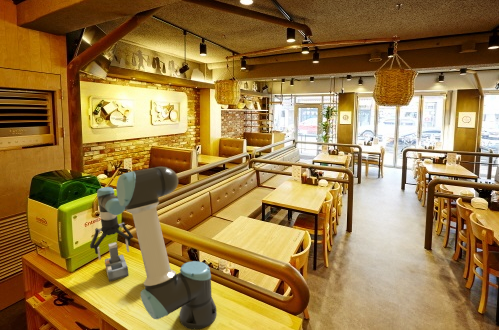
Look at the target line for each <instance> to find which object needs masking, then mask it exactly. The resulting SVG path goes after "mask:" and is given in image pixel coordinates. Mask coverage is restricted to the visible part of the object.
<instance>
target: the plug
mask: <svg viewBox="0 0 499 330" xmlns="http://www.w3.org/2000/svg"><path fill="white" fill-rule="evenodd" d="M108 250H109V258H111V264H112V263H115V262H119V250H118V244H117V242H116V241H115V242H111V243H108Z"/></svg>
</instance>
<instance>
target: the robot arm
mask: <svg viewBox="0 0 499 330" xmlns="http://www.w3.org/2000/svg"><path fill="white" fill-rule="evenodd" d="M178 185H179V177H178V175H177V173H176V172H175V171H174V170H173V169H171V168H169V167H167V166H156V167H151V168H143V169H139V170H132V171H129V172H125V173H122V174H120V175H119V176H118V179H117V183H116V195H115V190H114V188H113V187H111V186H107V187H105V186H104V187H101V188H99V189H97V191H96V192H97V193H96V195H97V196H96V197H97V202H98V208H99V215H100V224H101V228H98V227H96V228H95V229H94V230H95V231H94V235H93V238H92V240H91V242H90V244H89V247H90V249H91V250H92V249H94V254H95V255H97V257H98V261H100V260H102V259H101V258H102V257H101V252H100V245H101V244H102V242H103V240H104V239H105V238H106V237H107V236H111V235H115V234H118V235H120V237H121V238H124V239H125V246H126V247H125V248H126V251H127V253H129V252H130V247H129V246H130V245H131V239H133V238H134V236H133V234H132V232H131V231H130V230H129V229H128V227H126V224H125V222H121V223H119V221H118V220H119V219H118V216H119V215H121V214H123V213H124V212H125V210H126V211H127V213H130V214H131V215H132V219H133V223H134V227H135V228H134V229H135V231H136V236H137V240H138V245H139V250H140V253H141V258H142V261H143V267H144V269H145V274H146V278H145V280H144V282H143V286H144V289H142V290H140V299H141V302H142V304H143V306H144V309H145V310H146V312H147V313H148V315H149V316H150V317H151V318H152V319H153V320H160V319H163V318H164V317H167V316H169V315H170V314H172V313H174V312H175V311H177V310H178V309H180V310H179V322H180V324H181V325H182V327H184V328H186V329H188V330H202V329H205V328H207V327H208V326H210V325H212V324H213V323H214V321H215V320H216V318H217V311H218V310H217V306H216V303H215V301H214V299H213V295H212V274H211V268H210V266H209V265H208V264H207V263H205V262H202V261H199V260H197V261H196V260H193V261H187V262H184V263H183V264H182V265H181V267H180V268H179V271H180V272H178V273H177V272H176V271H175V270H173V269H171V265H170V262H169V256H168V253H167V248H166V245H165V240H164V236H163V232H162V227H161V223H160V218H159V214H158V211H157V210H158V209H157V208H158V207H157V206H158V205H159V204H160V200H159V198H161V197H163V196H167V195H170V194H172V193H173V192H175V190H176V189H177V187H178ZM120 228H121V229H123V230H124V232H123V231H122V230H120ZM101 232H102V233H101ZM125 232H126V233H125ZM100 233H101V235H100V237H98V236H99V234H100Z"/></svg>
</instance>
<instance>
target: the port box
mask: <svg viewBox="0 0 499 330" xmlns="http://www.w3.org/2000/svg"><path fill="white" fill-rule="evenodd" d="M118 256H119V262H115V263H112V264H111V258H110V257H108V258H105V259H104V265H105V270H106V274H107V278H108V281H109V283H111V282H113V281H116V280H119V279H122V278H126V277H129V275H130V274H129V269H128V268H129V267H128V264H127V262H126V259H125V256H124V254H120V255H119V254H118Z"/></svg>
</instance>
